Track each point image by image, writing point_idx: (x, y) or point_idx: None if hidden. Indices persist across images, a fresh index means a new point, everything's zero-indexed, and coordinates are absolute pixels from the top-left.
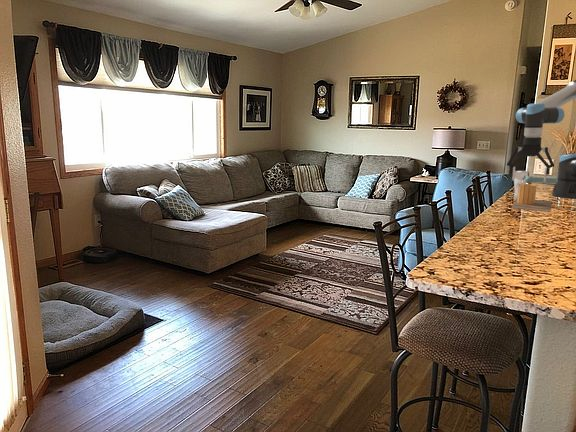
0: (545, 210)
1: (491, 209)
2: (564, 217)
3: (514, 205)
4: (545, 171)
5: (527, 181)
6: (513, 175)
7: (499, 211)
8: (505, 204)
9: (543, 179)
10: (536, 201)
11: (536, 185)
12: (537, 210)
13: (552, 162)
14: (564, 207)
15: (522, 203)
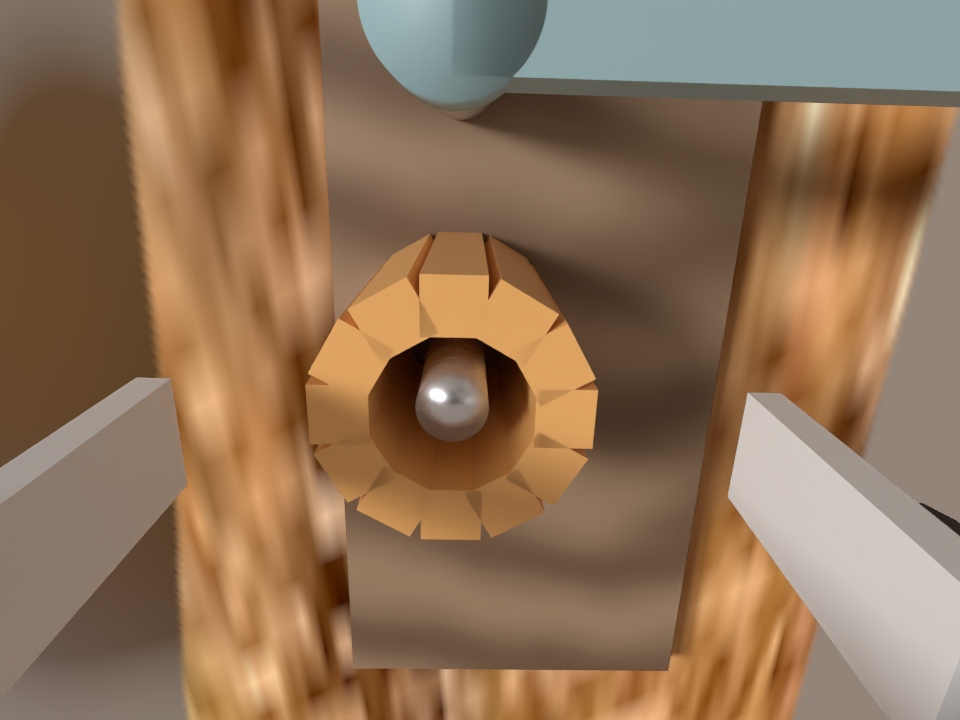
0: (635, 633)
1: (197, 623)
2: (755, 679)
3: (363, 521)
4: (876, 670)
5: (425, 101)
6: (112, 549)
7: (277, 672)
8: (251, 310)
9: (784, 94)
10: (578, 140)
11: (595, 414)
12: (570, 660)
13: None
14: (863, 199)
15: None
